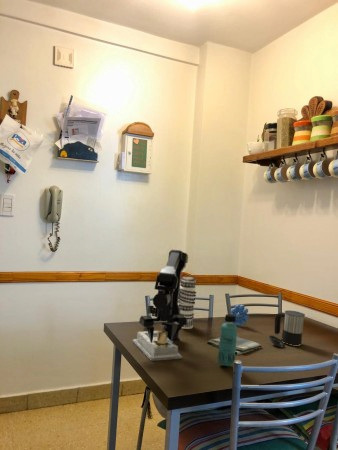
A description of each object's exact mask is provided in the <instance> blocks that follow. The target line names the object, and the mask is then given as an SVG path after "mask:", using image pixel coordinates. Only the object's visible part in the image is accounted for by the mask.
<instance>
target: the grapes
mask: <svg viewBox="0 0 338 450" xmlns="http://www.w3.org/2000/svg"><path fill="white" fill-rule="evenodd" d="M248 313H249V309H248V308H246V307H245V305H244V304H240V305H239V304H236V305H234V307H233V308H232V309H231V310H230V314H232V315H235V316H236V321H235V322H231V323H234V324H235V325H236V326H237V327H241V326H242V325H245V324H247V320H248V319H249V318H250V315H249V314H248Z"/></svg>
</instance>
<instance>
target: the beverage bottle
mask: <svg viewBox="0 0 338 450" xmlns="http://www.w3.org/2000/svg"><path fill="white" fill-rule="evenodd" d="M224 317H225V318H224V321H226V322H223V323H222V324H221V328H220V337H219V338H220V343H219V344H220V345H219V348H218V352H217V362H218V364H220V365H222V366H227V367H231V366H234V364H235V363H234V362H235V360H236V355H237V354H236V352H235V350H236V339H237V337H238V329H239V326H237V324H234V323H232V322H235V321H236V316H235V315H232V313H227V314H225V316H224ZM233 363H234V364H233Z"/></svg>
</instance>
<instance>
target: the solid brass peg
mask: <svg viewBox="0 0 338 450" xmlns="http://www.w3.org/2000/svg"><path fill="white" fill-rule="evenodd" d="M157 331H158V334H157V345H158V346H163V345H167V334H168V332H167V331H164V330H163V329H162V330H161V329H160V330H157Z"/></svg>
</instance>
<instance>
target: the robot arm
mask: <svg viewBox="0 0 338 450" xmlns="http://www.w3.org/2000/svg"><path fill="white" fill-rule="evenodd" d="M167 257H168V259H167V262H166V265H165V267H163V268H161V269H160V271H159V273H158V274H157V276H156V279H155V285H154V290H157V293H156V294H155V295H154V296H153V298H152V303H153V305H147V314H149V315H141V316H140V317H139V322H138V323H139V324H140V325H142V326H143V327H144V328H145V329H146V331H148V335H149V339H150V342H151V343H152V341H153V333H154V331H155V327H154V325H155V324H160V323H161V326H163V327H162V330H164V331H167V332H168V334H167V338H168V339H170V340H171V341H172V342H174V341H180V337H179V332H180V331H181V329H182V327H184V325H187V318H186V317H184V316H183V315H181V314H180V312H181V310H180V307H179V303H178V301H179V293H180V292H179V291H180V286H181V279H182V274H183V271H184V269H186V266H187V264H188V261H189V255H188V253H187V252H184V251H182V250H180V249H170V251H169V252H168V256H167ZM150 315H151V316H152V317H151V316H150Z"/></svg>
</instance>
